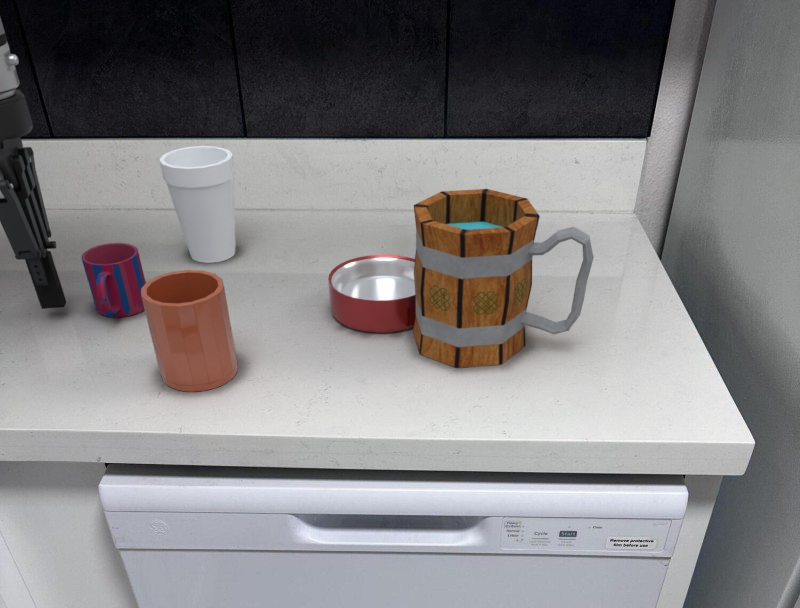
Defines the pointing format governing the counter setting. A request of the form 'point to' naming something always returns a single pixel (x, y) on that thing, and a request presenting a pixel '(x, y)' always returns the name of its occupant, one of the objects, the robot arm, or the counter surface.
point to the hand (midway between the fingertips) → (54, 305)
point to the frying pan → (374, 293)
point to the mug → (481, 276)
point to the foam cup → (203, 199)
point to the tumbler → (190, 329)
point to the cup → (115, 279)
